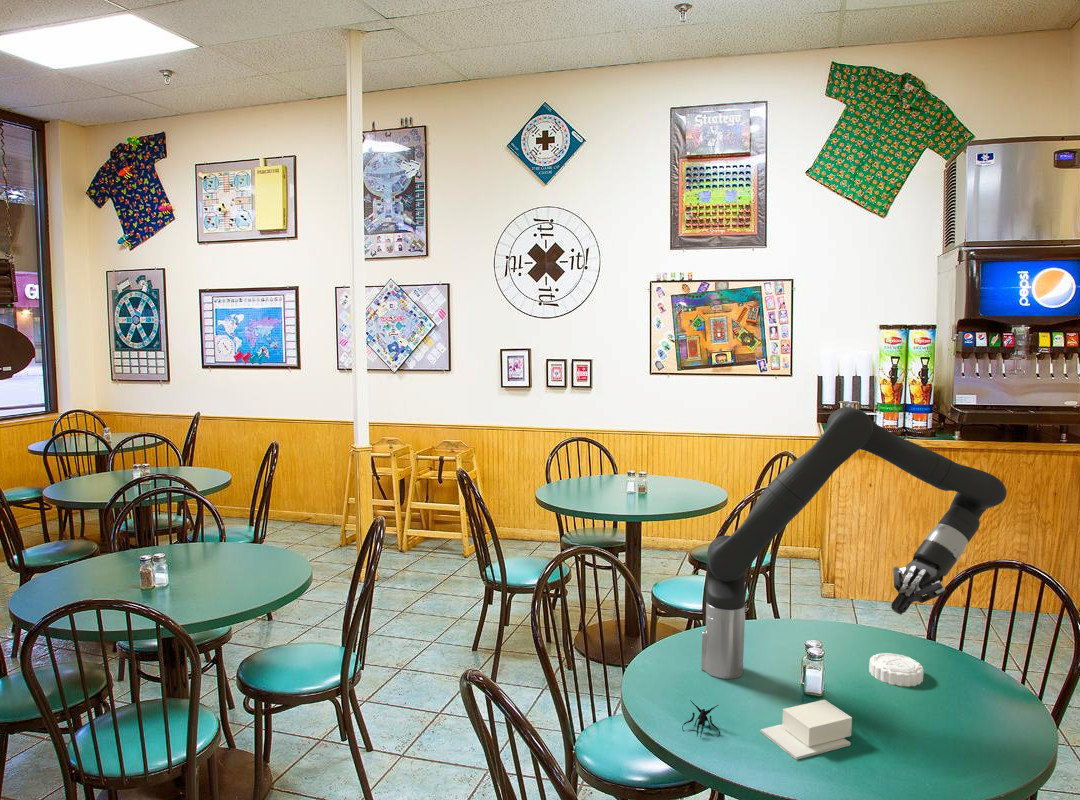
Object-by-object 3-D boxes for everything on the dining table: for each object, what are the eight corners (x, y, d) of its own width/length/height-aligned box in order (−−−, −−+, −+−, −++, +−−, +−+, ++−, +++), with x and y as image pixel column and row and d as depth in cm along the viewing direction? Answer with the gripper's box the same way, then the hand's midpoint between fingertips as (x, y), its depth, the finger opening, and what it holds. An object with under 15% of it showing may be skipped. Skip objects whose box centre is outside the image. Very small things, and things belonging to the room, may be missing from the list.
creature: (718, 747, 159) (722, 720, 166) (718, 726, 157) (723, 700, 164) (680, 740, 162) (686, 714, 169) (679, 719, 160) (685, 694, 167)
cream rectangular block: (823, 718, 167) (782, 728, 163) (824, 699, 167) (782, 709, 163) (851, 736, 160) (808, 747, 156) (852, 717, 159) (809, 728, 155)
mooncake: (860, 664, 195) (861, 651, 194) (907, 664, 195) (907, 650, 195) (883, 687, 183) (884, 673, 182) (933, 687, 183) (934, 672, 183)
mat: (760, 732, 163) (760, 729, 163) (812, 719, 168) (812, 716, 168) (796, 759, 153) (796, 757, 153) (850, 745, 158) (850, 742, 158)
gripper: (908, 531, 174) (863, 590, 171) (959, 547, 162) (912, 612, 159) (924, 551, 177) (880, 610, 174) (975, 569, 165) (930, 633, 162)
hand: (895, 611), depth 166 cm, fingers closed
